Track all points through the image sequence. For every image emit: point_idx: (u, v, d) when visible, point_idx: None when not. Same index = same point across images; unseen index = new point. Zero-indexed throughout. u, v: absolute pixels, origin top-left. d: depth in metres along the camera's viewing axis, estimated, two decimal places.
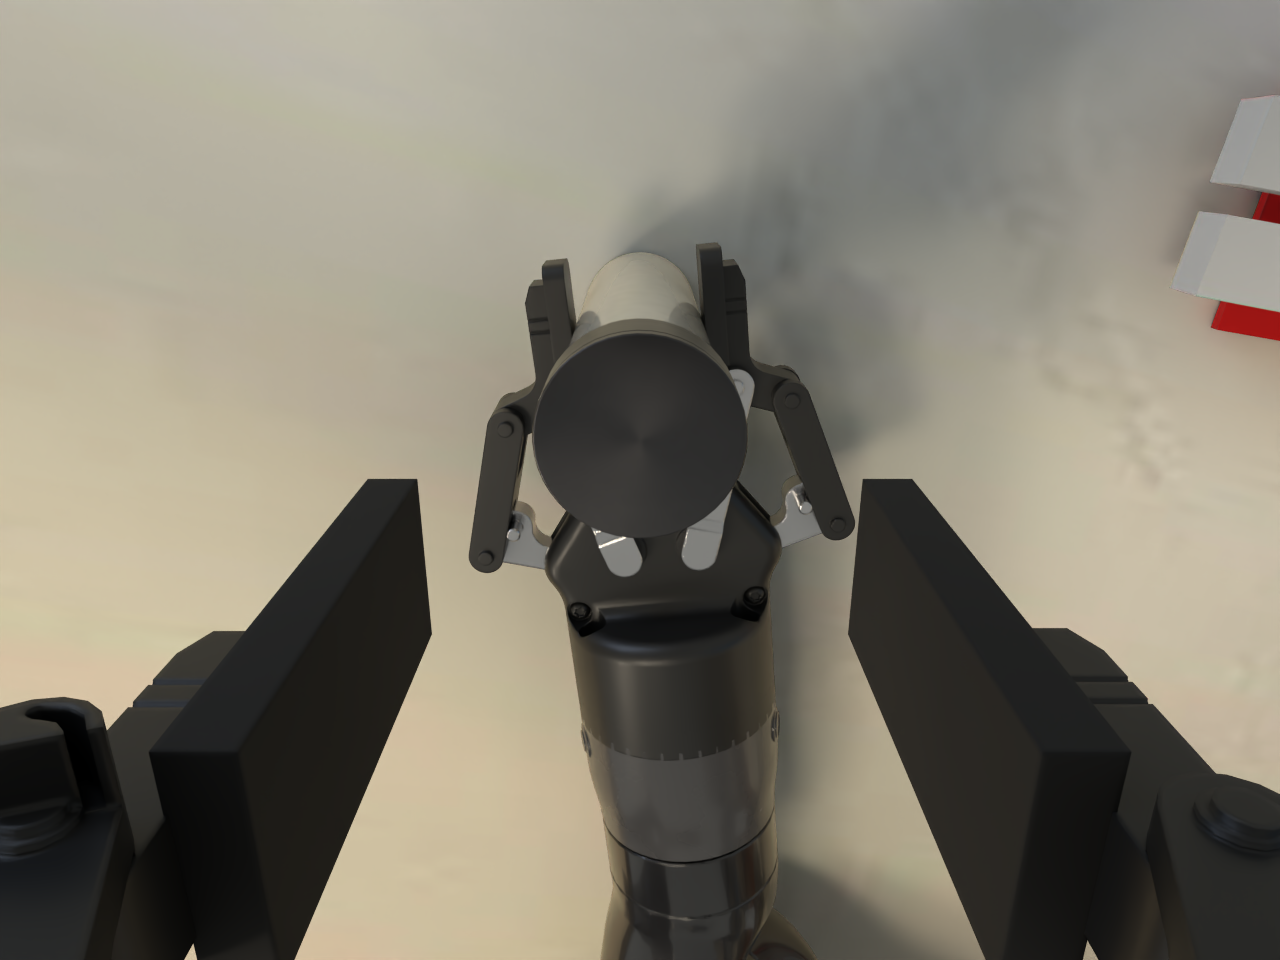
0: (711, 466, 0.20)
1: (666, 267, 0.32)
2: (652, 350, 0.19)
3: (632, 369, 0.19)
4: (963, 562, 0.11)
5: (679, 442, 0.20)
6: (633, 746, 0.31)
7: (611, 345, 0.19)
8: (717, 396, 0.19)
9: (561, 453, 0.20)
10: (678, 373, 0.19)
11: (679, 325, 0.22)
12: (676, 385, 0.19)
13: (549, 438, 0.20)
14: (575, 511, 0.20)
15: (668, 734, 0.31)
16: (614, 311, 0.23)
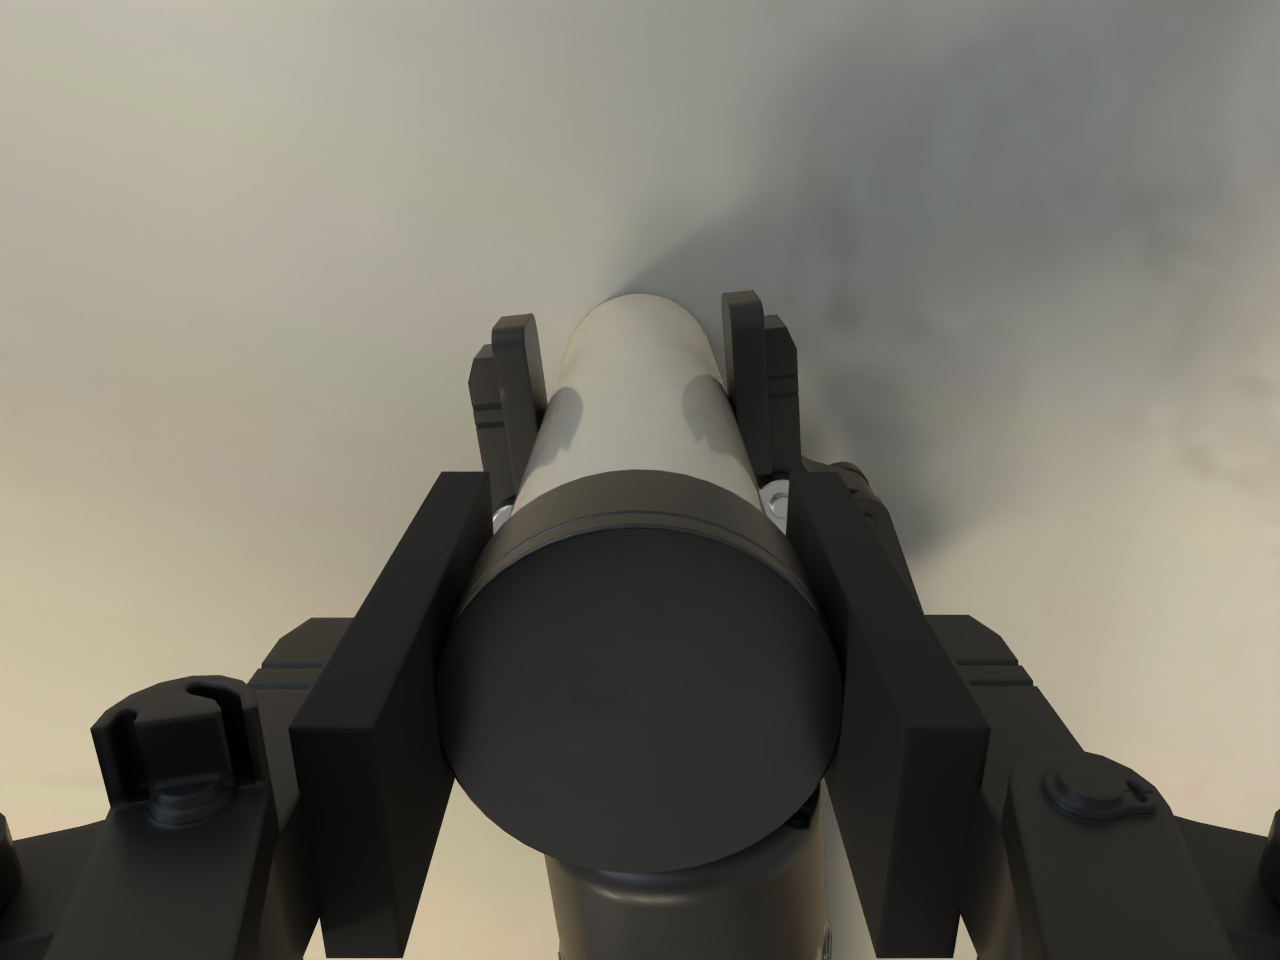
0: (774, 757, 0.10)
1: (676, 319, 0.23)
2: (663, 555, 0.10)
3: (623, 590, 0.10)
4: (869, 551, 0.11)
5: (714, 717, 0.10)
6: None
7: (582, 546, 0.10)
8: (789, 638, 0.10)
9: (489, 735, 0.10)
10: (714, 597, 0.10)
11: (707, 462, 0.13)
12: (710, 619, 0.10)
13: (465, 710, 0.10)
14: (518, 832, 0.11)
15: None
16: (596, 427, 0.14)
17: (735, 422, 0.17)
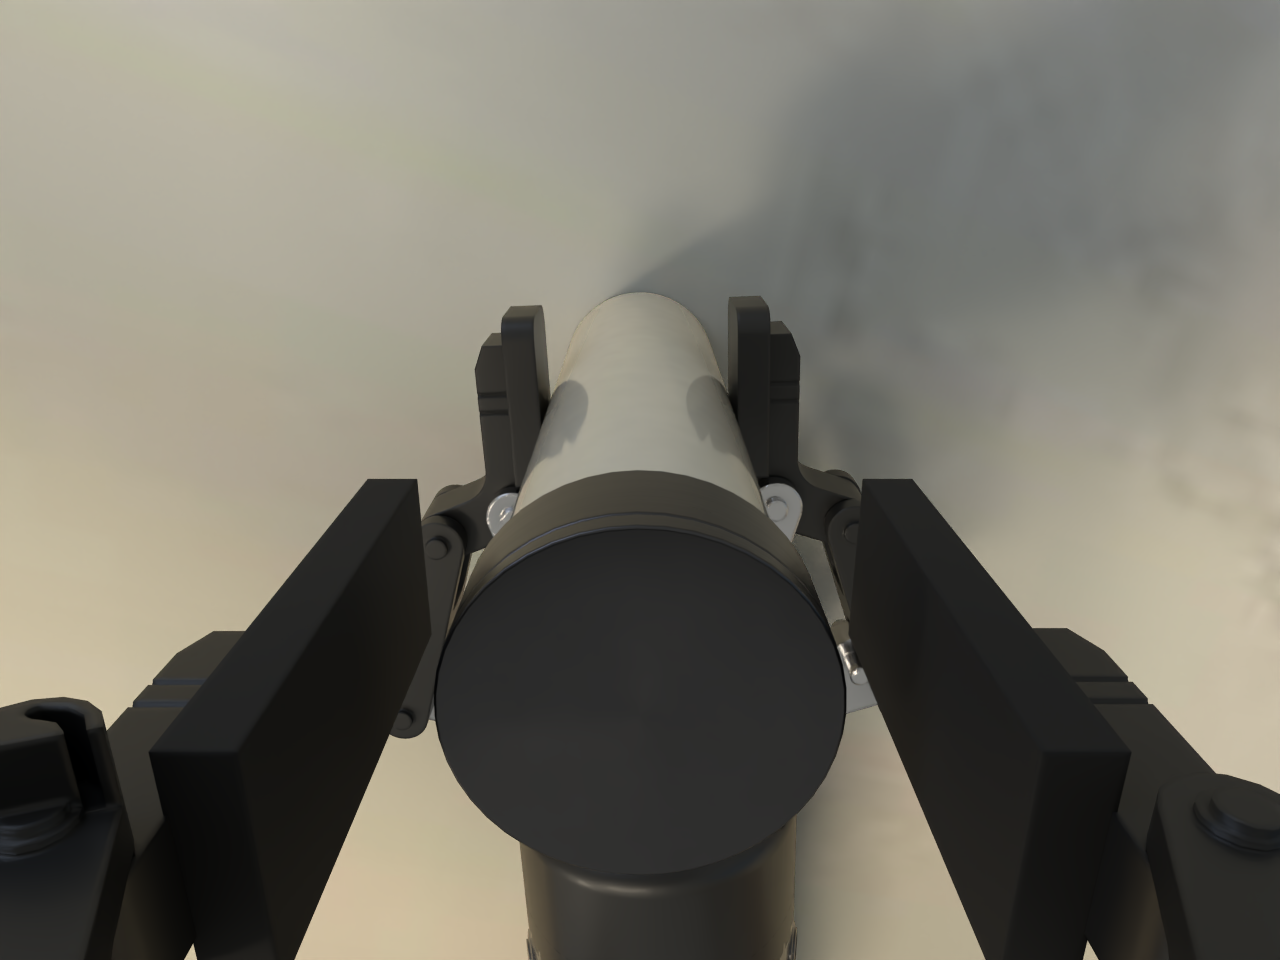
0: (677, 587, 0.10)
1: (681, 320, 0.23)
2: (463, 714, 0.10)
3: (505, 741, 0.10)
4: (963, 562, 0.11)
5: (634, 650, 0.10)
6: None
7: (469, 776, 0.11)
8: (529, 596, 0.10)
9: (682, 832, 0.11)
10: (497, 668, 0.10)
11: (715, 460, 0.13)
12: (520, 669, 0.10)
13: (656, 851, 0.11)
14: (794, 804, 0.11)
15: None
16: (606, 420, 0.14)
17: (737, 424, 0.18)
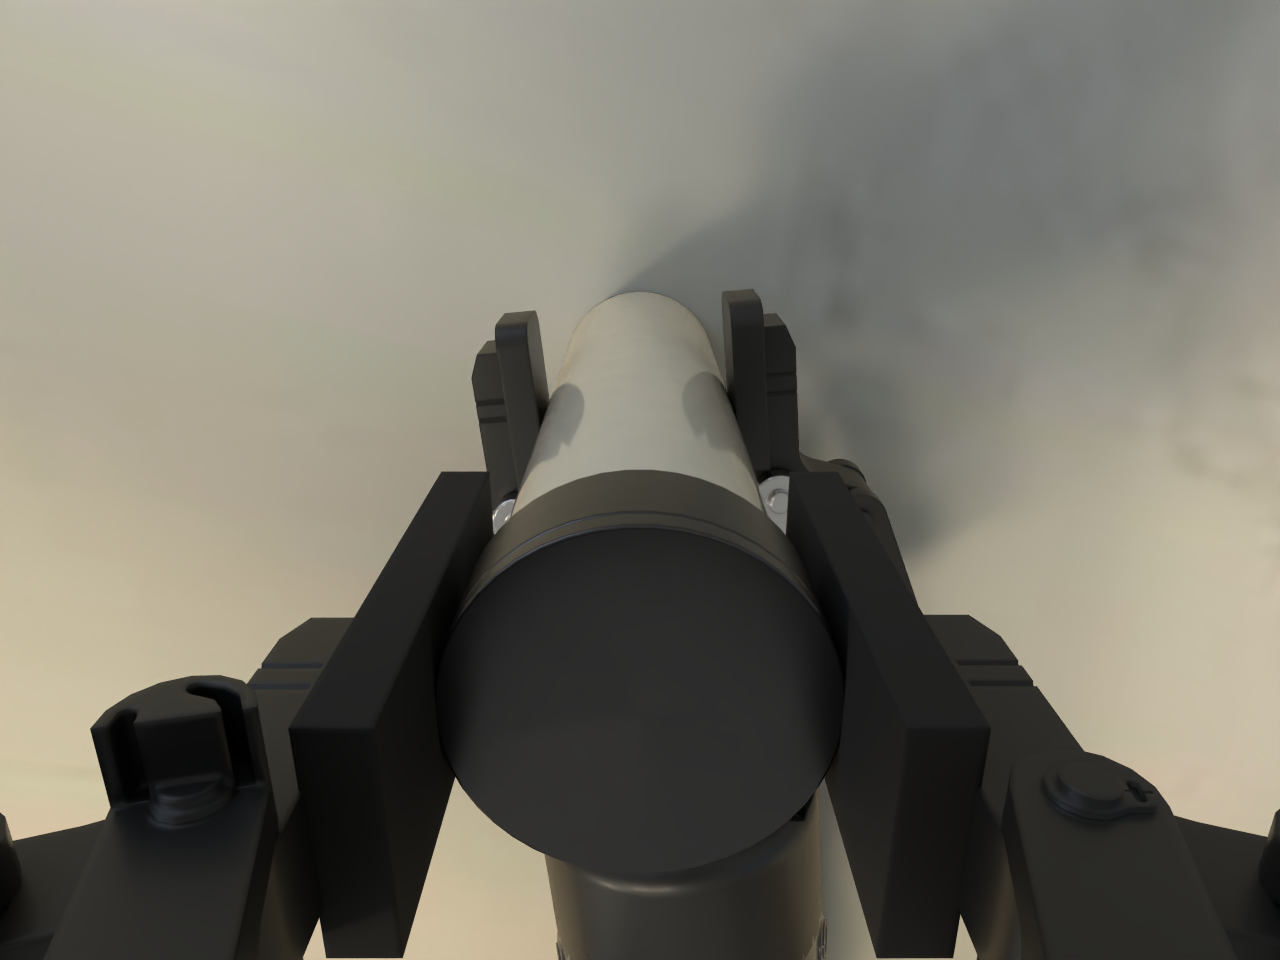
0: (668, 585, 0.10)
1: (677, 317, 0.23)
2: (464, 721, 0.10)
3: (507, 747, 0.10)
4: (869, 551, 0.11)
5: (629, 650, 0.10)
6: None
7: (474, 782, 0.11)
8: (522, 601, 0.10)
9: (689, 829, 0.11)
10: (495, 674, 0.10)
11: (708, 455, 0.13)
12: (518, 674, 0.10)
13: (664, 849, 0.11)
14: (800, 796, 0.11)
15: None
16: (598, 421, 0.14)
17: (734, 418, 0.18)
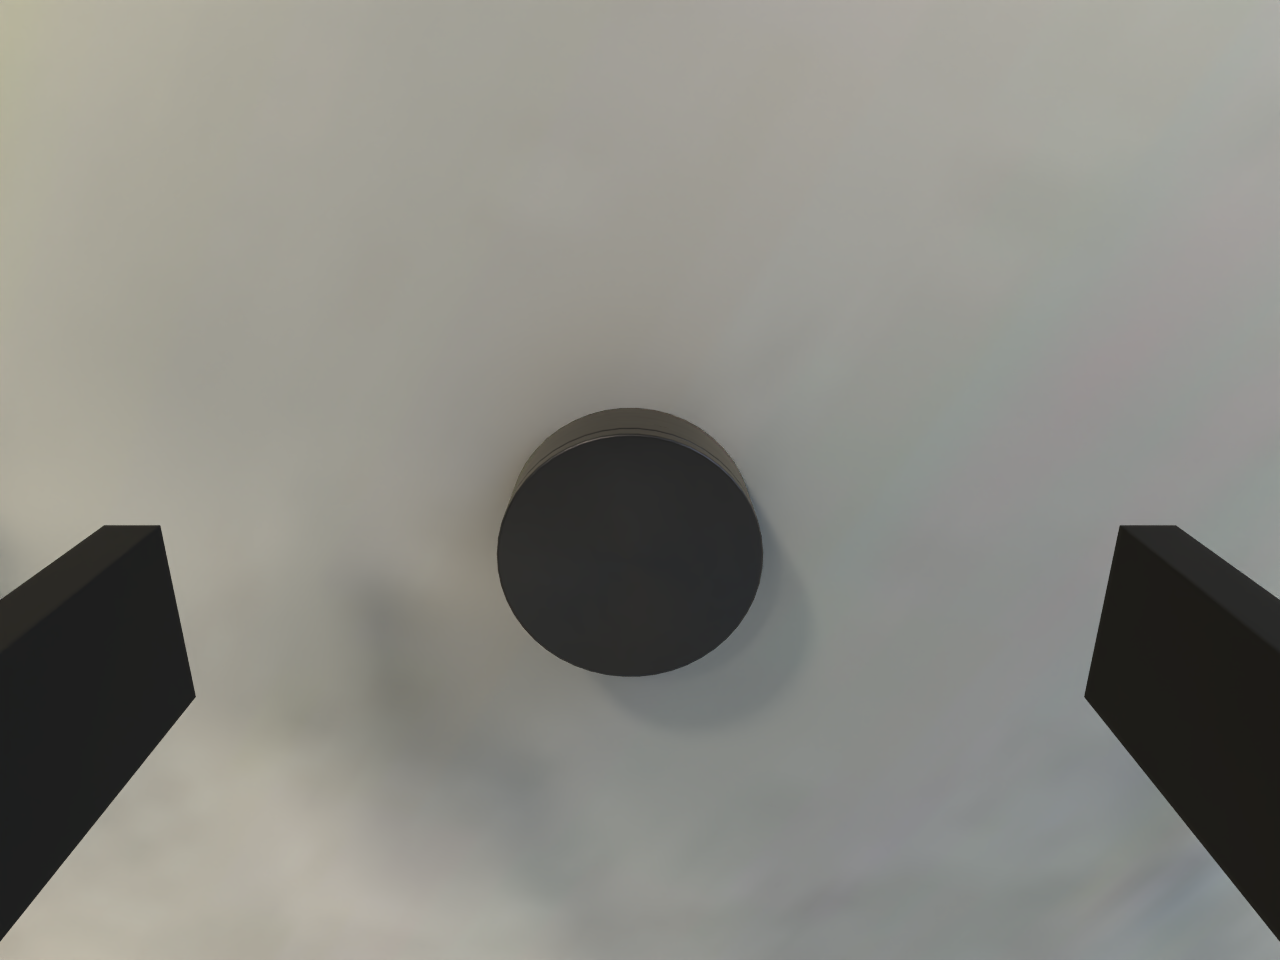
0: (647, 473, 0.15)
1: None
2: (516, 566, 0.16)
3: (544, 584, 0.16)
4: None
5: (623, 517, 0.16)
6: None
7: (521, 610, 0.16)
8: (555, 484, 0.15)
9: (663, 643, 0.16)
10: (537, 534, 0.16)
11: None
12: (552, 533, 0.16)
13: (646, 658, 0.17)
14: (735, 619, 0.16)
15: None
16: None
17: None
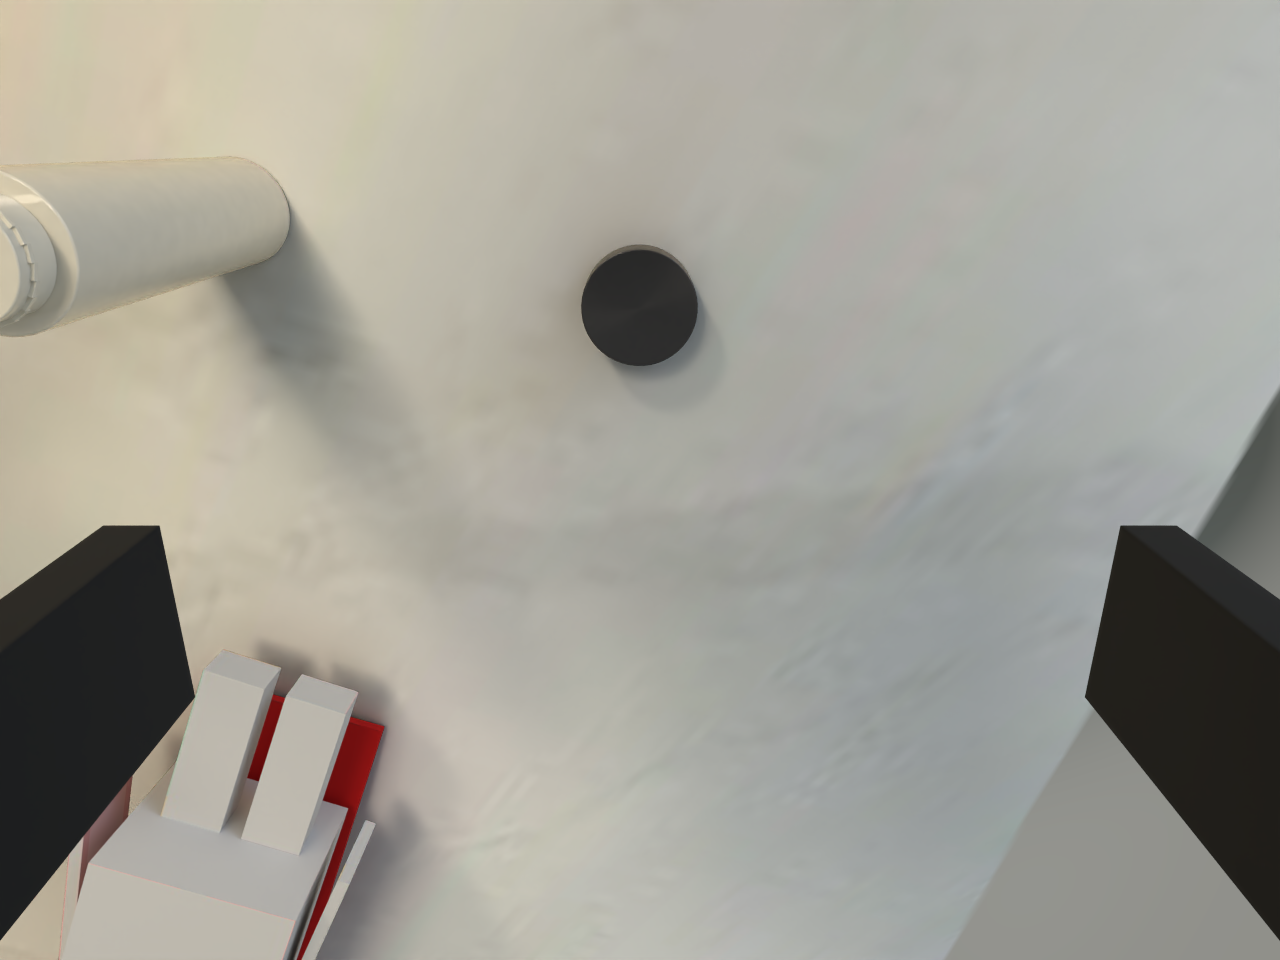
0: (647, 267, 0.36)
1: (256, 251, 0.35)
2: (589, 311, 0.36)
3: (601, 320, 0.37)
4: None
5: (636, 287, 0.36)
6: None
7: (591, 332, 0.37)
8: (607, 272, 0.36)
9: (653, 349, 0.37)
10: (599, 295, 0.36)
11: (98, 298, 0.25)
12: (605, 295, 0.36)
13: (646, 356, 0.37)
14: (685, 336, 0.37)
15: None
16: (126, 234, 0.25)
17: None
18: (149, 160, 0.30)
